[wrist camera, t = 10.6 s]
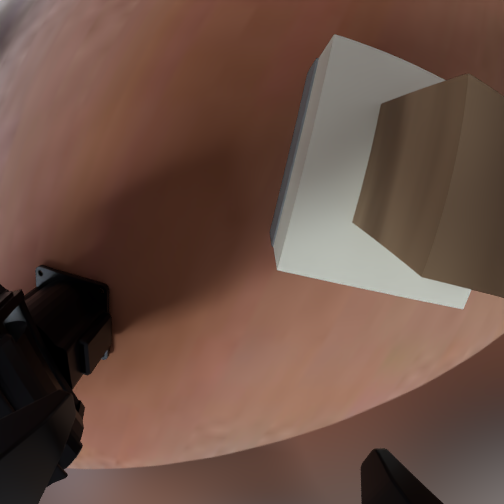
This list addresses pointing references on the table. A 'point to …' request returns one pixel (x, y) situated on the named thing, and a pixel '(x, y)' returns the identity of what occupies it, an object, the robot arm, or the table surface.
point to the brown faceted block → (440, 183)
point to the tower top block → (348, 177)
